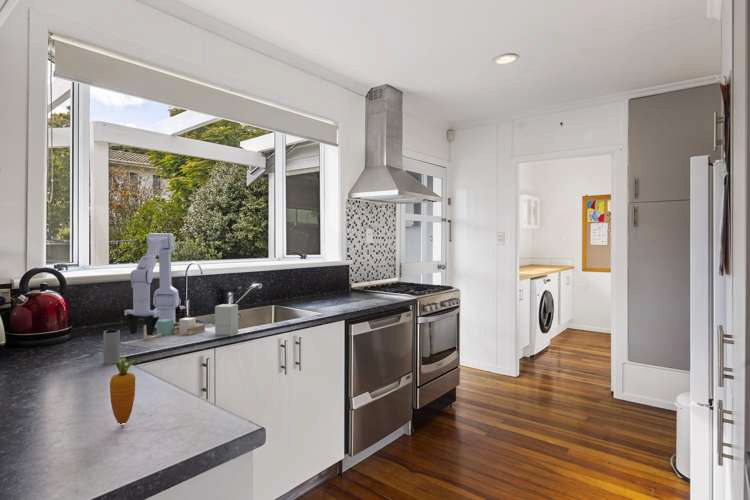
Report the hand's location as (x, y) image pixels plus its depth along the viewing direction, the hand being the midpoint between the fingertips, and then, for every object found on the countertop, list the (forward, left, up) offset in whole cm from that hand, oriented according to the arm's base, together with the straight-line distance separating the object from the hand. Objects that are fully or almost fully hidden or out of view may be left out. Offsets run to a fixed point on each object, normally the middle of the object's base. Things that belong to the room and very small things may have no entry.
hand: (141, 334), depth 164 cm
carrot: (+54, -62, -3) cm, 82 cm away
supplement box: (+23, +22, -3) cm, 32 cm away
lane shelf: (+4, +18, -3) cm, 19 cm away
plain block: (+7, +17, -3) cm, 19 cm away
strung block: (0, +8, -3) cm, 9 cm away
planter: (+12, -25, -3) cm, 28 cm away
